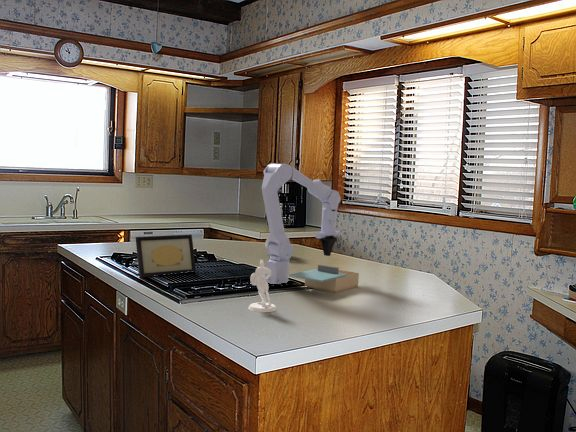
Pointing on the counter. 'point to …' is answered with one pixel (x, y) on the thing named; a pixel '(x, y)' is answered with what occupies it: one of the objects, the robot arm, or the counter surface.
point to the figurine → (262, 289)
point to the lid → (320, 274)
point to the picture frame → (165, 255)
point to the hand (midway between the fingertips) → (327, 255)
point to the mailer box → (336, 282)
